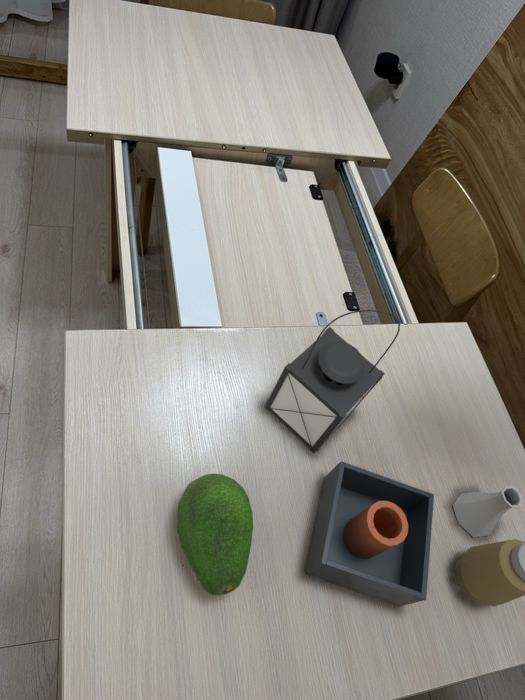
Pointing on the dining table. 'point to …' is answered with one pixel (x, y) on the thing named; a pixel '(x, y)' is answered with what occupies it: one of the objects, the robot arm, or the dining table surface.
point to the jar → (375, 530)
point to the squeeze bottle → (493, 572)
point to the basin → (387, 567)
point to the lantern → (323, 386)
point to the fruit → (216, 531)
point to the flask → (484, 509)
